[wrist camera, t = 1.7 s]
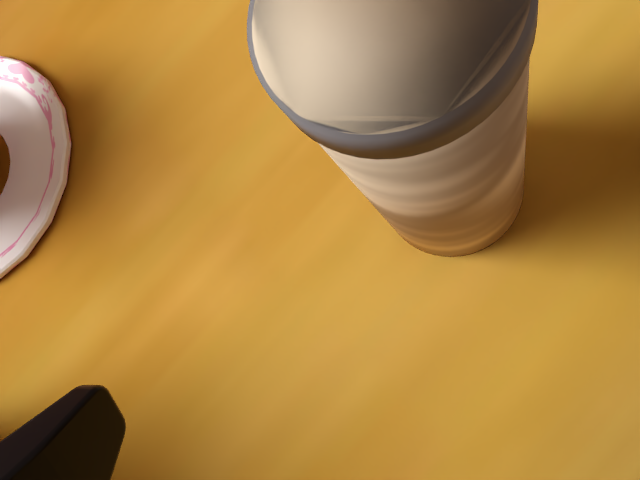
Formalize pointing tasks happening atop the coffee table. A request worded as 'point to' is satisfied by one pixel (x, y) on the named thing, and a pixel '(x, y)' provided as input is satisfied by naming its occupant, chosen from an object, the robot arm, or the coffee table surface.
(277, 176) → the coffee table surface
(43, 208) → the teacup
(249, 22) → the lidded tumbler
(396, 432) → the coffee table surface
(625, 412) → the coffee table surface
